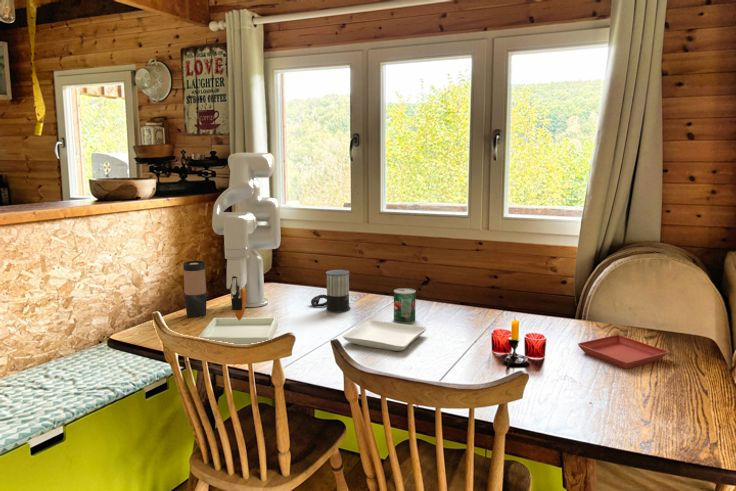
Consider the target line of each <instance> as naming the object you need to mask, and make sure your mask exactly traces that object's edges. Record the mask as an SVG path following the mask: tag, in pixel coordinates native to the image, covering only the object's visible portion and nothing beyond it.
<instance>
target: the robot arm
mask: <svg viewBox="0 0 736 491" xmlns="http://www.w3.org/2000/svg"><path fill="white" fill-rule="evenodd" d="M227 163H228V164H227V166H228V167H229V170H230V173H229V183H228V188H226V190H224V191H223V192H222V193H221V194H220V195H219V196H218V197H217V199H216V200H215V202H214V205H213V208H212V209H213V210H212V220H211V223H212V224H211V227H212V231H213V232H214V233H215V234H217V235H220V236H222V235H223V239H224V240H223V241H224V243H223V244H224V259H226V289H227V290H231V288H232V302H231V310H232V311H233V310H242V298H241V289H242V288H243V287H244V288H245V289H246V305H245V308H257V307H262V306H265V305H268V304H269V299H268V298H267V297H265V282H264V280H265V279H264V278H265V276H264V259H263V257H262V255H261V254H260V253H259V252H258V251H257V250H275V249H278V248H279V247H280V245H281V242H282V240H281V239H282V238H281V232H282V231H281V210H280V204H279V201H278V200H277V198H276V197H275V198H274V197H270V196H269V197H262V196H261V192H260V191H261V188H260V183H259V181H258V180H257V179H260V178H261V179H266V178H267V179H268V178H271V177H272V176H273V174H274V173H275V172H274V171H275V169H276V161H275V157H274V155H273V154H272V153H271V152H236V153H233V154H232V153H231V154H230V155H229V156H228V158H227ZM236 204H237V208H238V209H237V210H238V211H231V212H230V211H226V210H227V209H228V208H229V207H231V206H233V205H236ZM225 211H226V212H225ZM258 222H259V223H268V224H263V225H262V224H261V225H259V224H257V223H258ZM236 287H239V289H236ZM238 291H239V294H238Z"/></svg>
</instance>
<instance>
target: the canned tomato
mask: <svg viewBox="0 0 736 491" xmlns="http://www.w3.org/2000/svg"><path fill="white" fill-rule="evenodd" d="M416 292H417V291H416V289H413V288H409V287H406V288H405V287H404V288H402V287H400V288H396V289H394V290H393V321H394V323H399V324H405V325H408V324H414V323H415V322H416V297H417V296H416V294H417V293H416Z"/></svg>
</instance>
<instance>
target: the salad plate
mask: <svg viewBox="0 0 736 491" xmlns="http://www.w3.org/2000/svg"><path fill="white" fill-rule="evenodd" d="M426 330H427V327H424V326H417V325H410V324H403V323H397V322H391V321H383V320H381V321H380V320H375V319H374V320H372V319H370V320H367V321H366V322H364V323H362V324H360V325H359V326H357V327H355V328H353V329H352V330H350V331H349V332H347V333H346V334H344V335H343V336H342V338H343V339H344V340H345V341H347V342H349V343H351V344H355V345H357V346H362V347H367V348H375V349H382V350H388V351H399V352H401V351H403V350H405V349H406V348H407V347H408V346H409V345H410V344H412V343H413V341H415V340H416V339H417V338H419V337H420V336H422V335H423V334H424V333H425V332H426Z"/></svg>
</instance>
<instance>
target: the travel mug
mask: <svg viewBox="0 0 736 491" xmlns="http://www.w3.org/2000/svg"><path fill="white" fill-rule="evenodd" d="M182 265H183V266H182V268H183V286H184V288H183V289H184V303H185V312H186V317H187V318H191V319H194V318H195V319H197V318H203V317H205V316H207V284H206V269H205V268H206V267H205V261H202V260H188V261H184V262H183V263H182Z"/></svg>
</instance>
